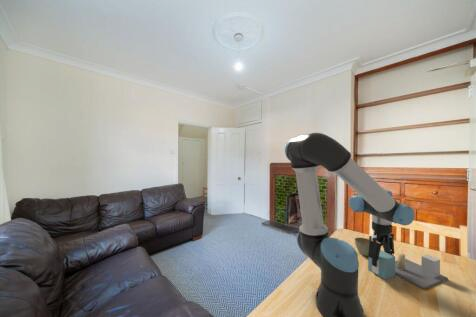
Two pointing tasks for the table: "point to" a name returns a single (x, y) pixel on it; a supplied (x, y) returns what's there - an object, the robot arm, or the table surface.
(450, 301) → the table surface
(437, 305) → the table surface
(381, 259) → the pale blue block
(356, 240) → the grey brown bowl
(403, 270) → the stand
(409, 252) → the table surface
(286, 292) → the table surface
